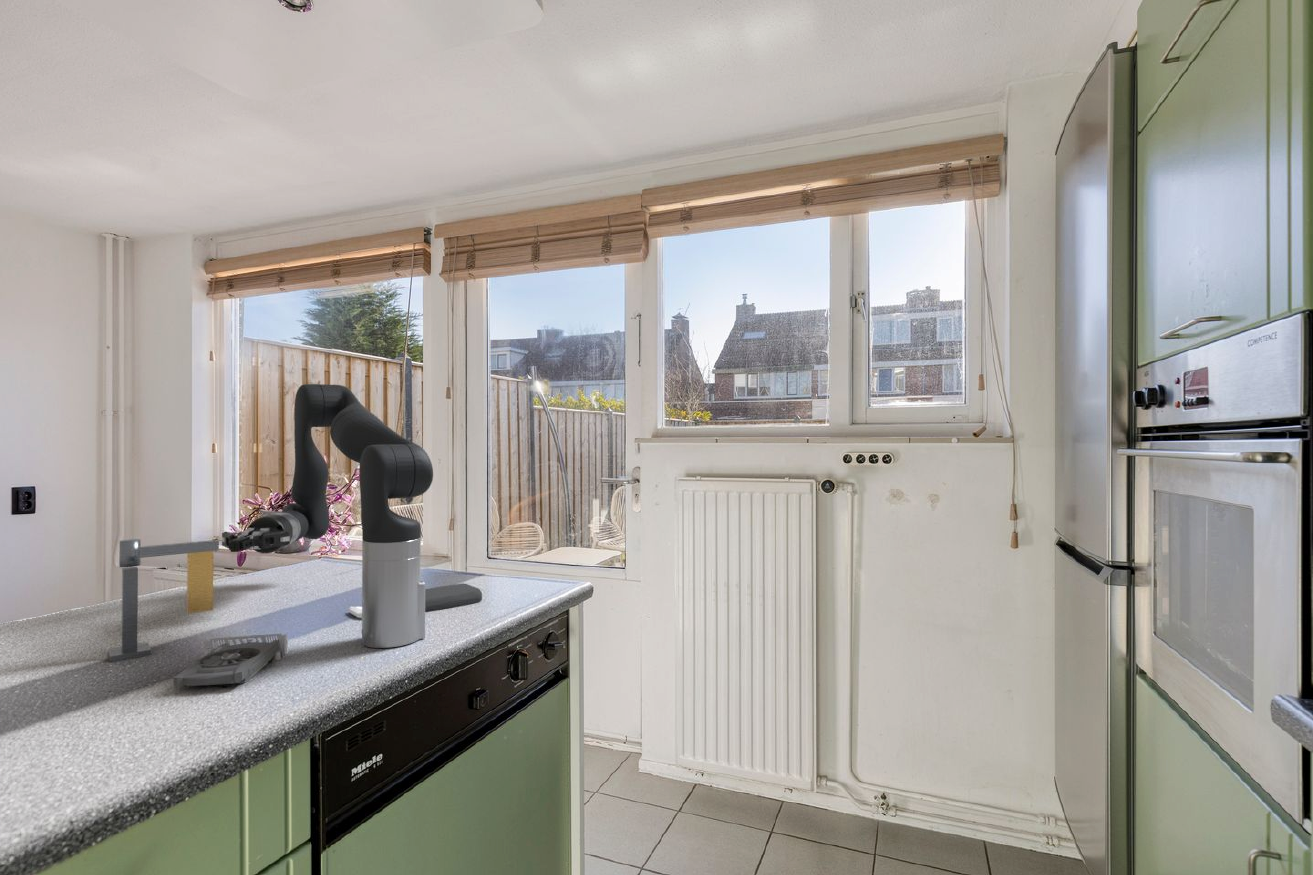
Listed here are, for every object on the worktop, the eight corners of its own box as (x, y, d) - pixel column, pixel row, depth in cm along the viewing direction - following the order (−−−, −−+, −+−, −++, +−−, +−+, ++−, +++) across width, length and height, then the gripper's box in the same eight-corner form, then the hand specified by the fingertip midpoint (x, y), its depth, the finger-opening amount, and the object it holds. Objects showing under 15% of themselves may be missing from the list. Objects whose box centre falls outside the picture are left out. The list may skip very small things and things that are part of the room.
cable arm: (215, 607, 113) (216, 532, 113) (218, 609, 111) (219, 534, 111) (118, 621, 104) (118, 540, 104) (119, 624, 102) (120, 542, 102)
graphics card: (206, 636, 103) (289, 630, 105) (207, 660, 103) (290, 654, 105) (145, 675, 87) (246, 667, 89) (146, 703, 87) (246, 695, 89)
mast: (147, 647, 107) (147, 564, 107) (151, 654, 103) (151, 568, 103) (107, 654, 104) (108, 568, 104) (110, 661, 100) (110, 572, 100)
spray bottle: (485, 604, 138) (363, 627, 121) (463, 594, 146) (345, 615, 130) (485, 590, 138) (363, 611, 121) (463, 581, 146) (345, 600, 130)
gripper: (240, 514, 136) (195, 526, 119) (308, 514, 139) (273, 525, 121) (240, 550, 137) (195, 567, 119) (308, 549, 139) (273, 566, 121)
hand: (234, 546), depth 120 cm, fingers closed
